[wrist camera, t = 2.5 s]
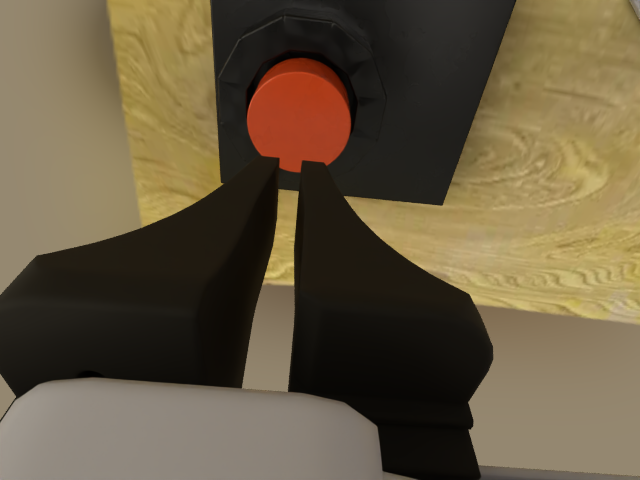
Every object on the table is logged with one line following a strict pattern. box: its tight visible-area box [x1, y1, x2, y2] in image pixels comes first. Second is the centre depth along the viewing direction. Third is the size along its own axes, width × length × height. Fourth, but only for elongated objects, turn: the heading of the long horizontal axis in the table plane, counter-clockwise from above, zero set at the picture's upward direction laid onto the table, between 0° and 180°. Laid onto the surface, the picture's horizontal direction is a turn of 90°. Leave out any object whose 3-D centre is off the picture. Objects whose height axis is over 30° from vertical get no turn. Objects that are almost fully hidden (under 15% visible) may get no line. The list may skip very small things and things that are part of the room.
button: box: [247, 58, 351, 172], centre depth 16 cm, size 4×4×2 cm
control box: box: [210, 0, 516, 206], centre depth 18 cm, size 12×10×4 cm
